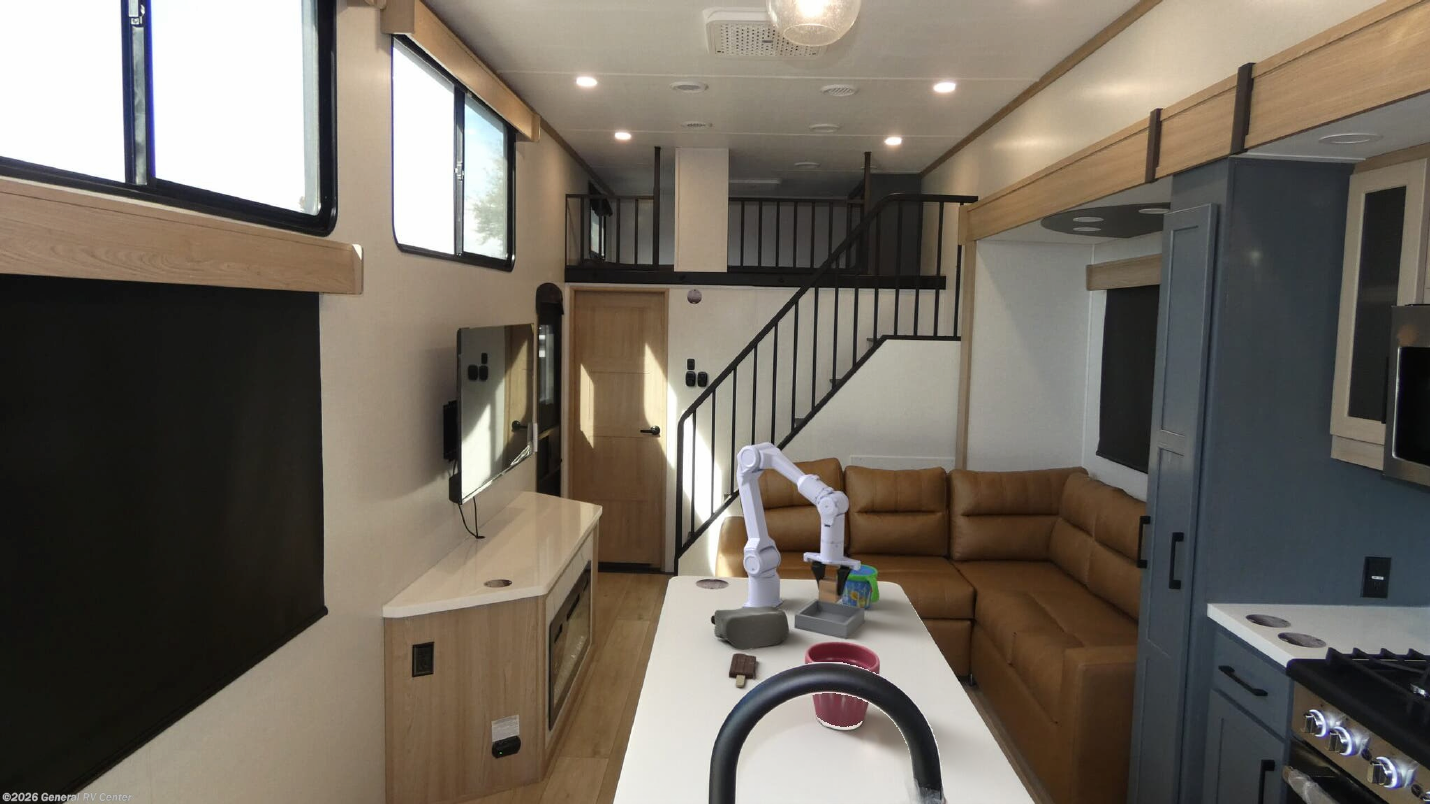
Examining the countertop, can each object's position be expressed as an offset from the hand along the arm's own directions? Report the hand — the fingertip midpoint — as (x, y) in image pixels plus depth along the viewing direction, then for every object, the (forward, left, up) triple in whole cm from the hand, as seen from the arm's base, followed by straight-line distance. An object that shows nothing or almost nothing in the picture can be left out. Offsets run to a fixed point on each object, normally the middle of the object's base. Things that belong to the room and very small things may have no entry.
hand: (830, 592), depth 201 cm
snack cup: (-17, +1, -9) cm, 19 cm away
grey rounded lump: (+19, -13, -9) cm, 25 cm away
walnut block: (0, 0, -2) cm, 2 cm away
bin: (0, 0, -8) cm, 8 cm away
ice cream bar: (+37, -6, -9) cm, 38 cm away
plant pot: (+45, +20, -9) cm, 50 cm away
